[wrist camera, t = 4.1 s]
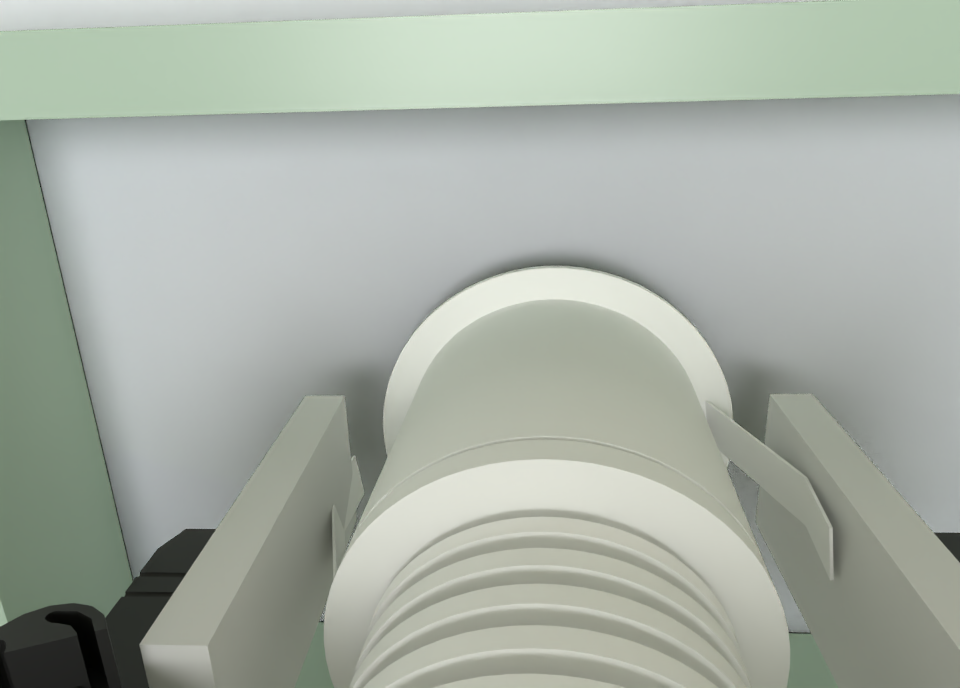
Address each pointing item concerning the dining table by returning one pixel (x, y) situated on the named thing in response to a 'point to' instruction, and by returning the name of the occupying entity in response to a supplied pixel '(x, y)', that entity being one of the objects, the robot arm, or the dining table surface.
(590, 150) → the dining table surface
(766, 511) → the robot arm
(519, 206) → the dining table surface
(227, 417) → the dining table surface
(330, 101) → the bin
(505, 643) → the downlight
